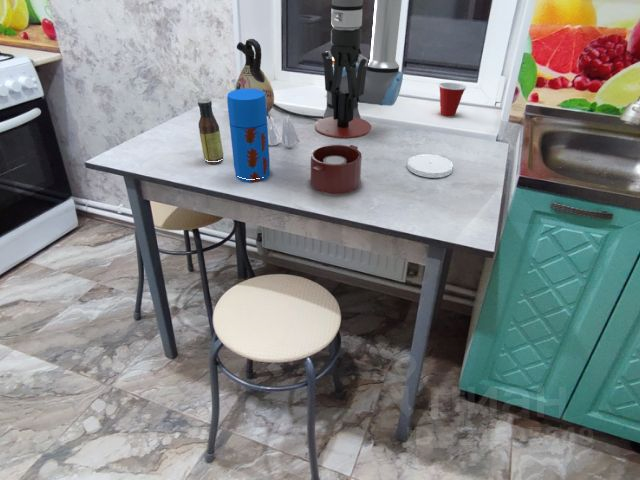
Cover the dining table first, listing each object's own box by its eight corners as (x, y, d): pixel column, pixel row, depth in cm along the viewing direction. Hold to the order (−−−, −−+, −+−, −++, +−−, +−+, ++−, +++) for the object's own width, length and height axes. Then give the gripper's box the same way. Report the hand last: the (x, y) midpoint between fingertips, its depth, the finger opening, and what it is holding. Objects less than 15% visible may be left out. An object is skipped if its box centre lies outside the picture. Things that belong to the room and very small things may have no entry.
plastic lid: (442, 184, 142) (444, 177, 141) (399, 173, 148) (400, 166, 147) (458, 167, 152) (459, 160, 150) (417, 157, 158) (418, 150, 157)
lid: (303, 132, 131) (302, 93, 125) (334, 116, 141) (335, 79, 135) (351, 145, 123) (353, 105, 117) (381, 127, 134) (384, 89, 128)
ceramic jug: (228, 116, 190) (220, 36, 173) (260, 108, 198) (254, 31, 182) (253, 128, 179) (247, 44, 163) (285, 118, 188) (282, 38, 171)
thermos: (236, 167, 151) (228, 88, 137) (270, 166, 152) (265, 87, 138) (234, 183, 142) (225, 100, 128) (270, 182, 143) (265, 99, 129)
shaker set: (300, 146, 165) (299, 115, 159) (295, 150, 162) (294, 119, 156) (270, 140, 169) (268, 110, 163) (264, 145, 166) (262, 114, 160)
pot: (295, 189, 139) (294, 160, 134) (333, 166, 152) (334, 138, 147) (337, 204, 132) (338, 173, 127) (373, 178, 145) (375, 149, 140)
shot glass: (344, 187, 139) (345, 165, 135) (321, 185, 140) (321, 164, 136) (346, 177, 145) (347, 156, 141) (324, 175, 146) (324, 154, 142)
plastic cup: (465, 113, 195) (470, 83, 188) (456, 120, 187) (461, 90, 181) (440, 108, 200) (444, 79, 193) (430, 115, 192) (434, 85, 185)
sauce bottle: (227, 158, 157) (220, 98, 145) (218, 166, 152) (210, 105, 140) (209, 156, 158) (201, 96, 147) (200, 163, 153) (191, 102, 142)
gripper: (310, 26, 119) (311, 117, 132) (367, 33, 111) (361, 129, 124) (327, 21, 124) (326, 109, 137) (382, 28, 116) (375, 121, 129)
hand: (343, 119), depth 131 cm, fingers closed on lid, 3 cm apart
